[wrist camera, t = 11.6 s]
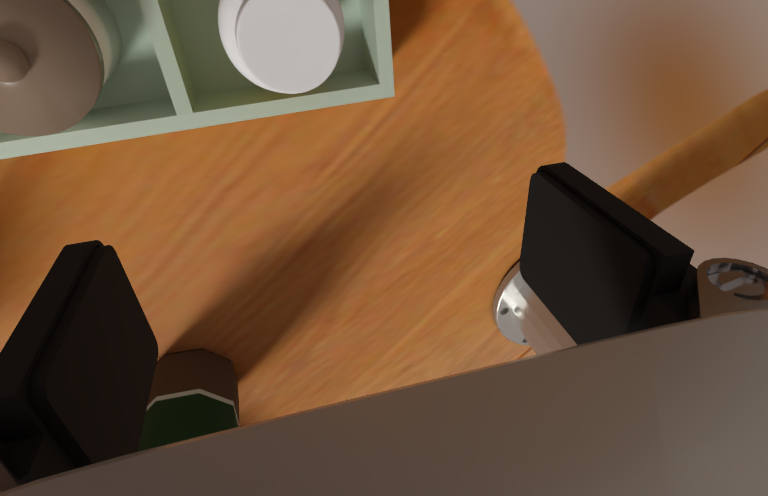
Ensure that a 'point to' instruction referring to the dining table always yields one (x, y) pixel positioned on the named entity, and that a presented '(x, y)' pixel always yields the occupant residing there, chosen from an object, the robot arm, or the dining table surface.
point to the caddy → (209, 76)
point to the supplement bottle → (282, 41)
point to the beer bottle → (190, 398)
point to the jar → (54, 62)
